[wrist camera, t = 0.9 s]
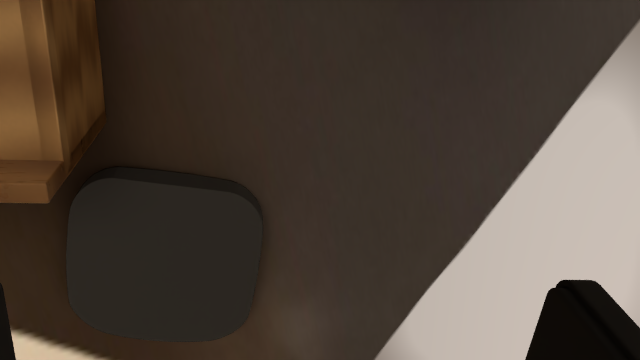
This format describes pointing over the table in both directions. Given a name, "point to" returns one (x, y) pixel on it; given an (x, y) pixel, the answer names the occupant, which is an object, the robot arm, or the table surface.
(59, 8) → the step shelf
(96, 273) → the media streaming box
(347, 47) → the table surface
